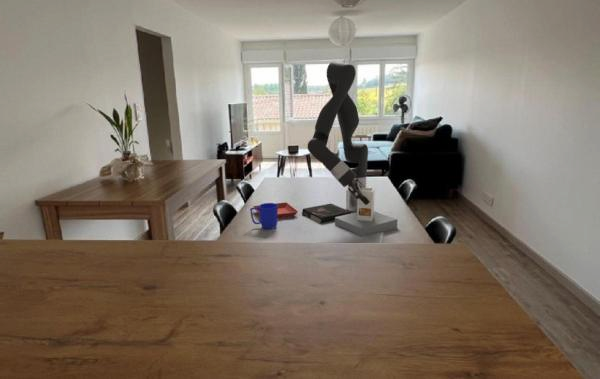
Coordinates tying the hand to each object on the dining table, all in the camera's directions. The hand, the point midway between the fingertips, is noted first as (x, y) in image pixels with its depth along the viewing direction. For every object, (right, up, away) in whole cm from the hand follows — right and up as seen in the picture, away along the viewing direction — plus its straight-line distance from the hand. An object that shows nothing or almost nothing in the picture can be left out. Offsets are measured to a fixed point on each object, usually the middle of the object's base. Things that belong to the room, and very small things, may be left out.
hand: (369, 200), depth 160 cm
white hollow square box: (-1, -8, +2) cm, 8 cm away
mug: (-45, -12, +6) cm, 47 cm away
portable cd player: (-17, -9, +18) cm, 26 cm away
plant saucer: (-42, -8, +24) cm, 49 cm away
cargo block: (-1, -7, +2) cm, 7 cm away
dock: (-1, -12, +3) cm, 12 cm away
